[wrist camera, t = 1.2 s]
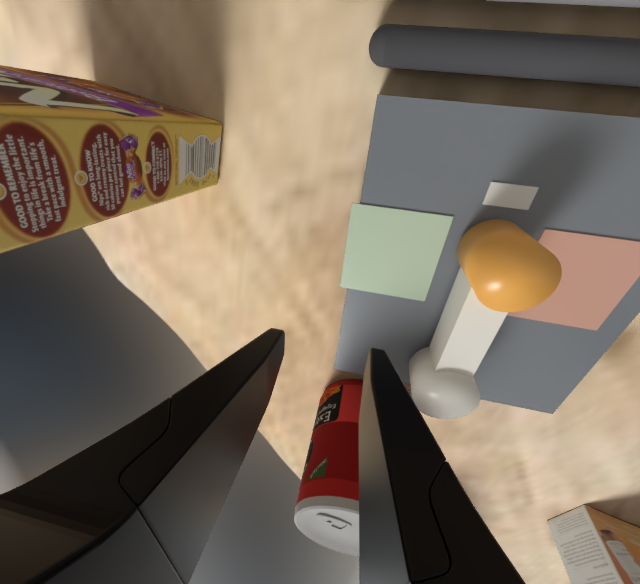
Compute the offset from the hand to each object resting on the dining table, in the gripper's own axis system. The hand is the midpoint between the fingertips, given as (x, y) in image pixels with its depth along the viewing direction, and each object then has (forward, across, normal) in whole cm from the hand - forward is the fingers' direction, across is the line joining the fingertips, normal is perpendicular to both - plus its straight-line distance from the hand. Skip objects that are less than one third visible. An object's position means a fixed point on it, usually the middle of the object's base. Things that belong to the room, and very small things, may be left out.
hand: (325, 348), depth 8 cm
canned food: (+13, -3, +19) cm, 23 cm away
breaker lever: (+11, -8, +5) cm, 15 cm away
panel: (+13, -9, +3) cm, 16 cm away
